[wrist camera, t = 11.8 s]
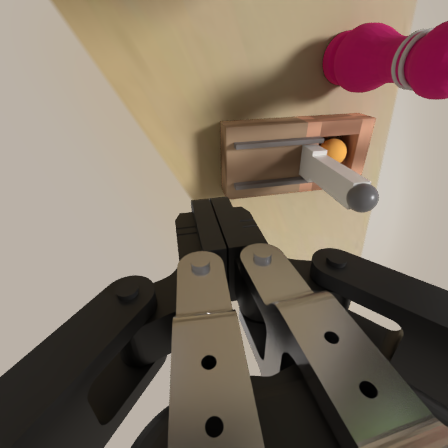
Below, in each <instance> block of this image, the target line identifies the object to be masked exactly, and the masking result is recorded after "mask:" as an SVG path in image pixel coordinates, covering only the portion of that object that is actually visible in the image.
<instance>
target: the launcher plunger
mask: <svg viewBox="0 0 448 448" xmlns="http://www.w3.org/2000/svg"><path fill="white" fill-rule="evenodd" d="M299 175H300V176H302V177H303V178H304V179H305V180H306V181H307V182H314V183H316V184H317V185H318V186H319V187H320V188H322V189H323V190H324V191H325V192H327V193H328V194H329V195H330V196H332V197H333V198H334V199H335V200H336V201H338V202H339V203H340V204H341V205H343V206H344V207H345V208H346V209H352V210H354V211H356V212H367V211H370V210H372V209H373V208H374V207H375V206H376V205H377V203H378V200H379V195H378V191H377V190H376V188H375V187H373V186H372V185H371V181H370V180H368V179H366V178H365V177H363V176H361V175H360V174H358V173H356V172H355V171H353V170H351V169H350V168H348V167H346V166H345V165H343V164H341V163H339V162H338V161H336V160H334V159H333V158H331V157H329V156H328V155H327V150H326V149H324V148H322V147H321V146H319V145H317V144H310V145H303V146H302V154H301V162H300V169H299Z"/></svg>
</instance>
